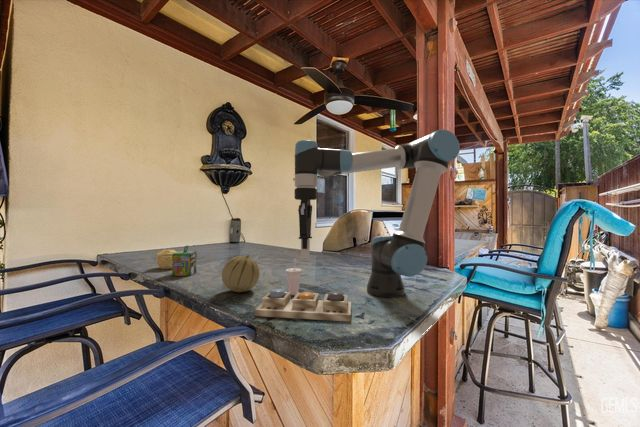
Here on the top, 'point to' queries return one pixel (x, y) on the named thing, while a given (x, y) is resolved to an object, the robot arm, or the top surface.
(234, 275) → the cantaloupe
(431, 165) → the robot arm
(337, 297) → the charcoal button
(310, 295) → the orange button
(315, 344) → the top surface
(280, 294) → the blue button
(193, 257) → the chalk box
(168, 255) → the sculpture
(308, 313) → the button panel
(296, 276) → the smoothie
